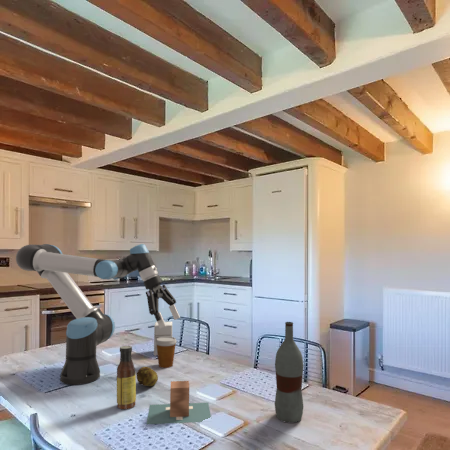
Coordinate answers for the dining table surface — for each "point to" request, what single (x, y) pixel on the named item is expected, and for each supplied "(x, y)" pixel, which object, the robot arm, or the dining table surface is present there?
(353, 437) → the dining table surface
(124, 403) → the sauce bottle
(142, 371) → the potato
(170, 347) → the disposable coffee cup
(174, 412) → the wooden block
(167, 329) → the supplement box
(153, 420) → the letter card
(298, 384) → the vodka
